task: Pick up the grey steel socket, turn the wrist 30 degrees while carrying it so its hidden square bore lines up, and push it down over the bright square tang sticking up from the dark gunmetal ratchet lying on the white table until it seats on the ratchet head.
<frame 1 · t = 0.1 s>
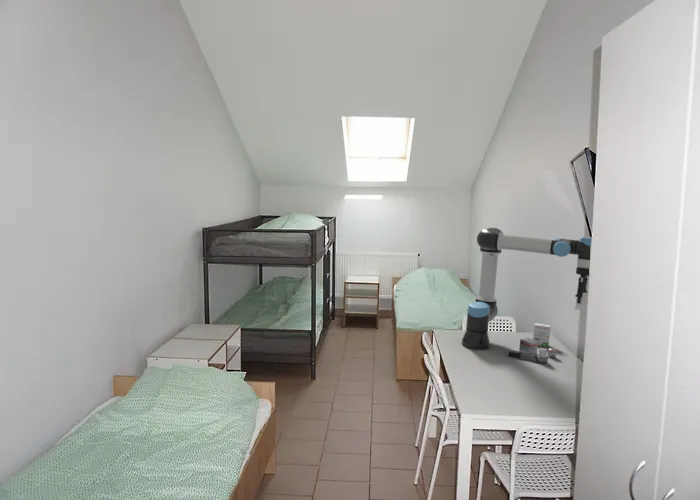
hand: (579, 307, 271), 28 cm above the table, fingers open, 13 cm apart
ink box: (540, 345, 295), on the table
socket: (527, 352, 280), on the table
ratchet: (541, 362, 266), on the table
socket small: (551, 357, 275), on the table
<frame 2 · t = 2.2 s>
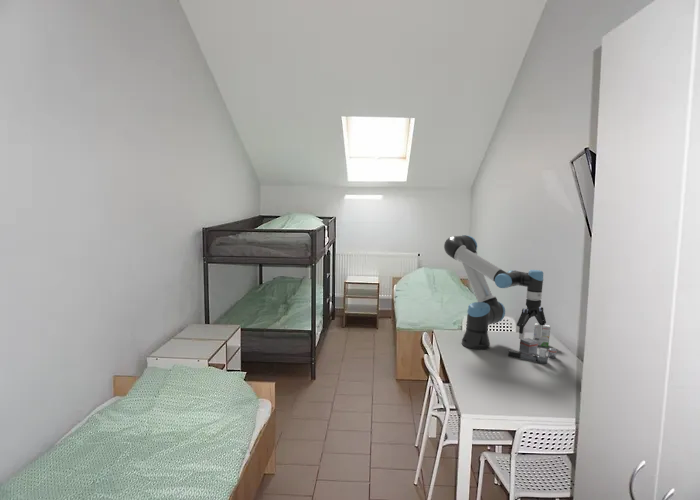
hand: (530, 337, 278), 8 cm above the table, fingers open, 13 cm apart
nothing on the table moved.
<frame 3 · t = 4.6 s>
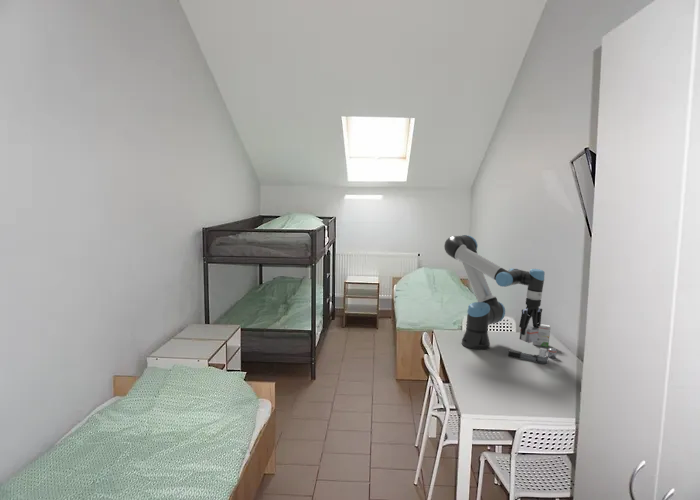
hand: (528, 339, 279), 7 cm above the table, fingers closed on socket, 6 cm apart
socket: (528, 340, 279), point 7 cm above the table, touching gripper
everything else where it was.
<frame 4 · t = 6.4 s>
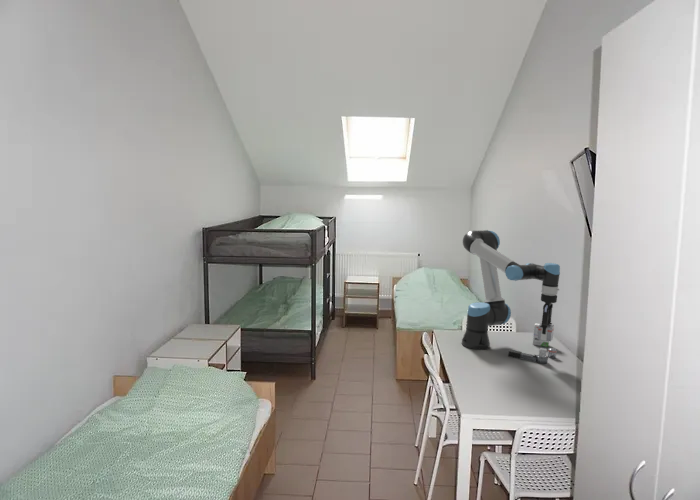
hand: (544, 338, 264), 13 cm above the table, fingers closed on socket, 6 cm apart
socket: (545, 338, 264), point 13 cm above the table, touching gripper
everything else where it was.
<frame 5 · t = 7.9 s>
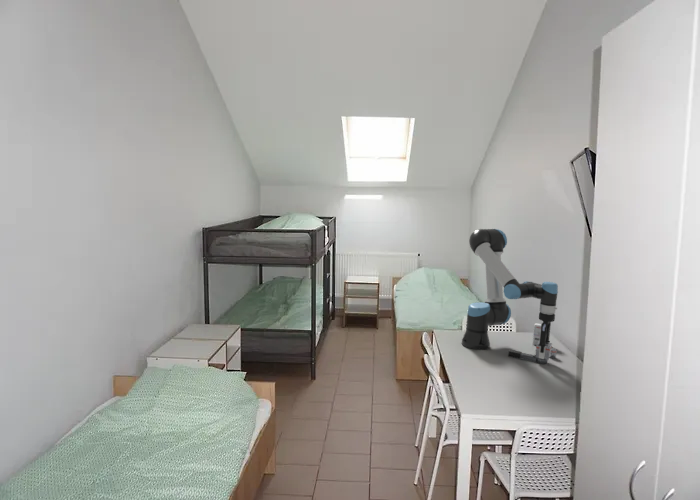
hand: (542, 356, 265), 3 cm above the table, fingers closed on socket, 6 cm apart
socket: (542, 356, 265), point 3 cm above the table, touching gripper, ratchet
everything else where it was.
when the fingers open (3 cm above the table, at t = 8.3 s): socket stays where it is, resting on ratchet.
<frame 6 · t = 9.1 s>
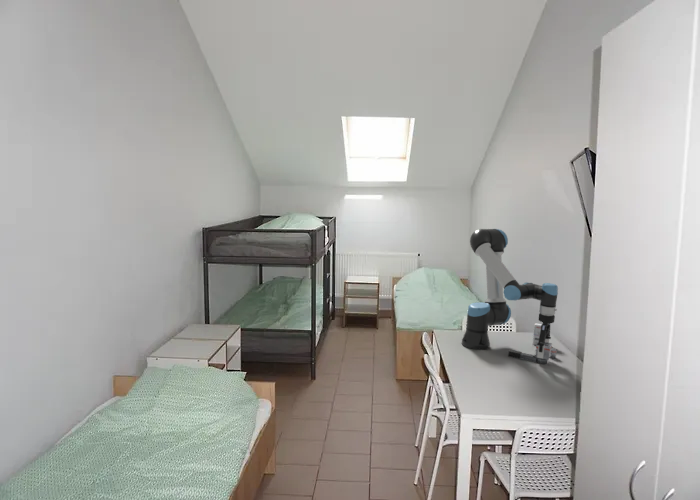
hand: (542, 354, 265), 4 cm above the table, fingers open, 13 cm apart
socket: (542, 356, 265), point 3 cm above the table, touching ratchet
everything else where it was.
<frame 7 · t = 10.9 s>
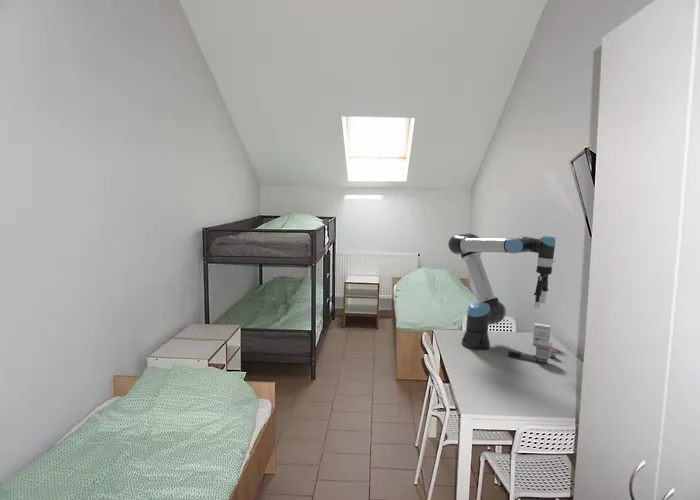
hand: (539, 305, 273), 27 cm above the table, fingers open, 13 cm apart
nothing on the table moved.
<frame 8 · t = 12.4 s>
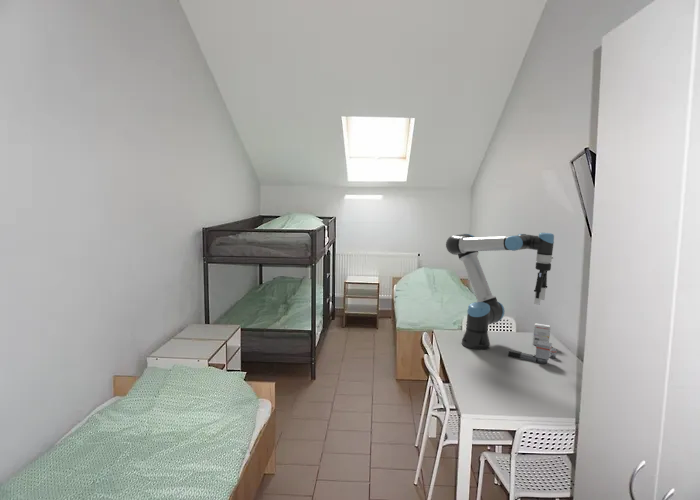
hand: (539, 301, 274), 29 cm above the table, fingers open, 13 cm apart
nothing on the table moved.
at the end: socket 0.4 cm off-centre on the ratchet, point 3.0 cm above the ratchet's base; socket tilted 0°; the gripper is holding nothing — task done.
